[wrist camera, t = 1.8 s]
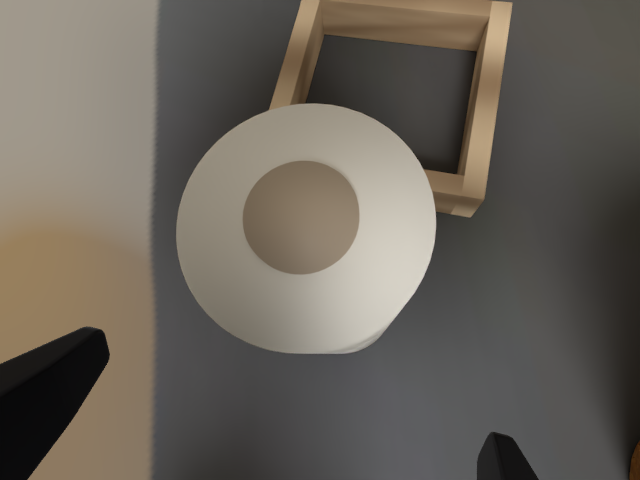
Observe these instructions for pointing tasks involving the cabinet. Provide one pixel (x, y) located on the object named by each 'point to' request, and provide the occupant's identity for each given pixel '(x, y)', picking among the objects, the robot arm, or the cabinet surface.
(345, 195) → the paper roll
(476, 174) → the oak holder
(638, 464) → the disposable coffee cup
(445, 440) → the cabinet surface
